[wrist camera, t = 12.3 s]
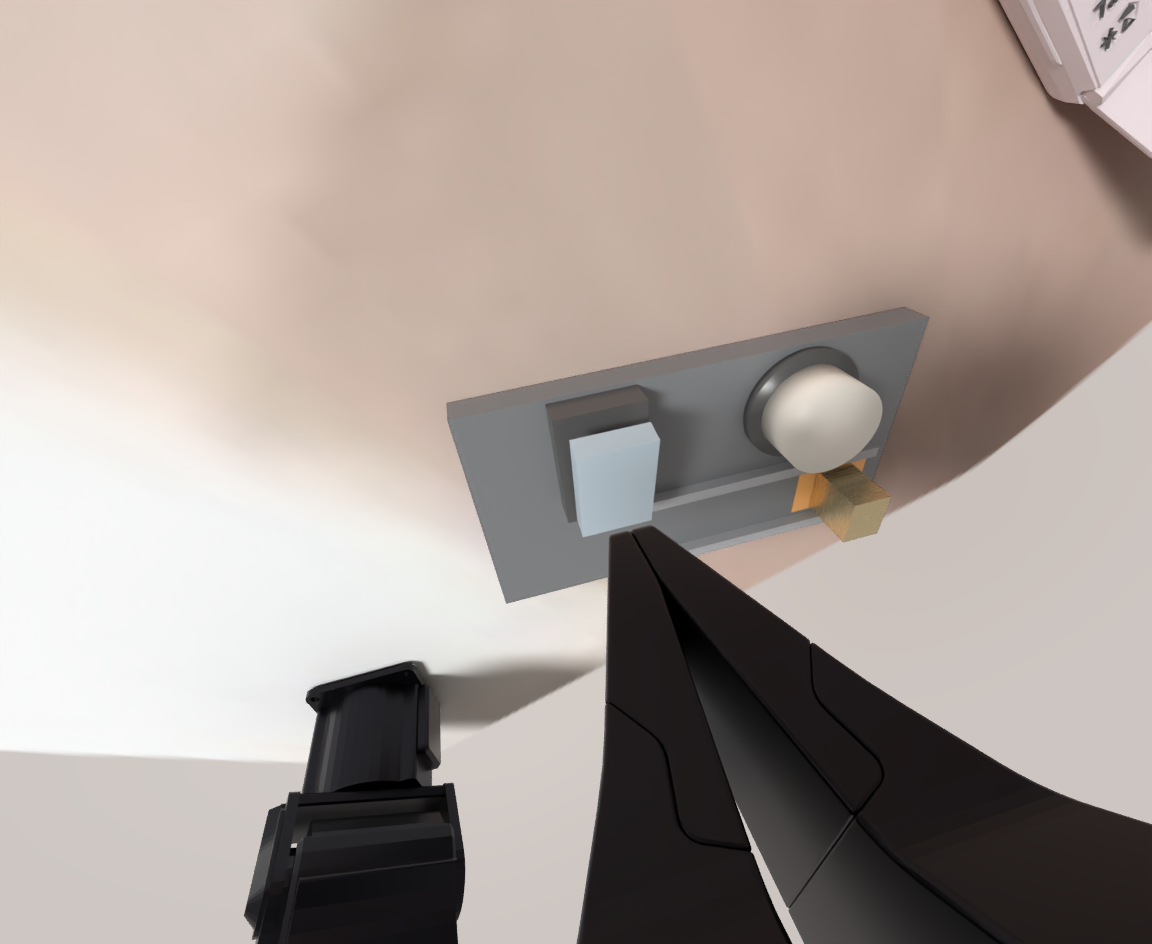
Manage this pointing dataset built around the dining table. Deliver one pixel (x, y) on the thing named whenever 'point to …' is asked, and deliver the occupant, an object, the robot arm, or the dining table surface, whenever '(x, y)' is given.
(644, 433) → the rocker switch
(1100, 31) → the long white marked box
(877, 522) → the wood grain cube
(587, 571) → the control panel
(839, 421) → the push button
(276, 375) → the dining table surface
